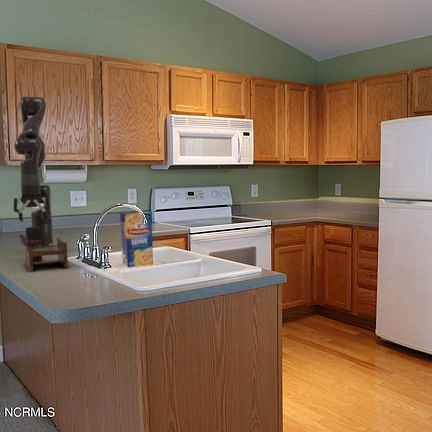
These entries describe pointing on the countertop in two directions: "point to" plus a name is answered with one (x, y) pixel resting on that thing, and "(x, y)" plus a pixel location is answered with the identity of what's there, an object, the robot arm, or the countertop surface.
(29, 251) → the shelf
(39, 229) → the deodorant
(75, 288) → the countertop surface
